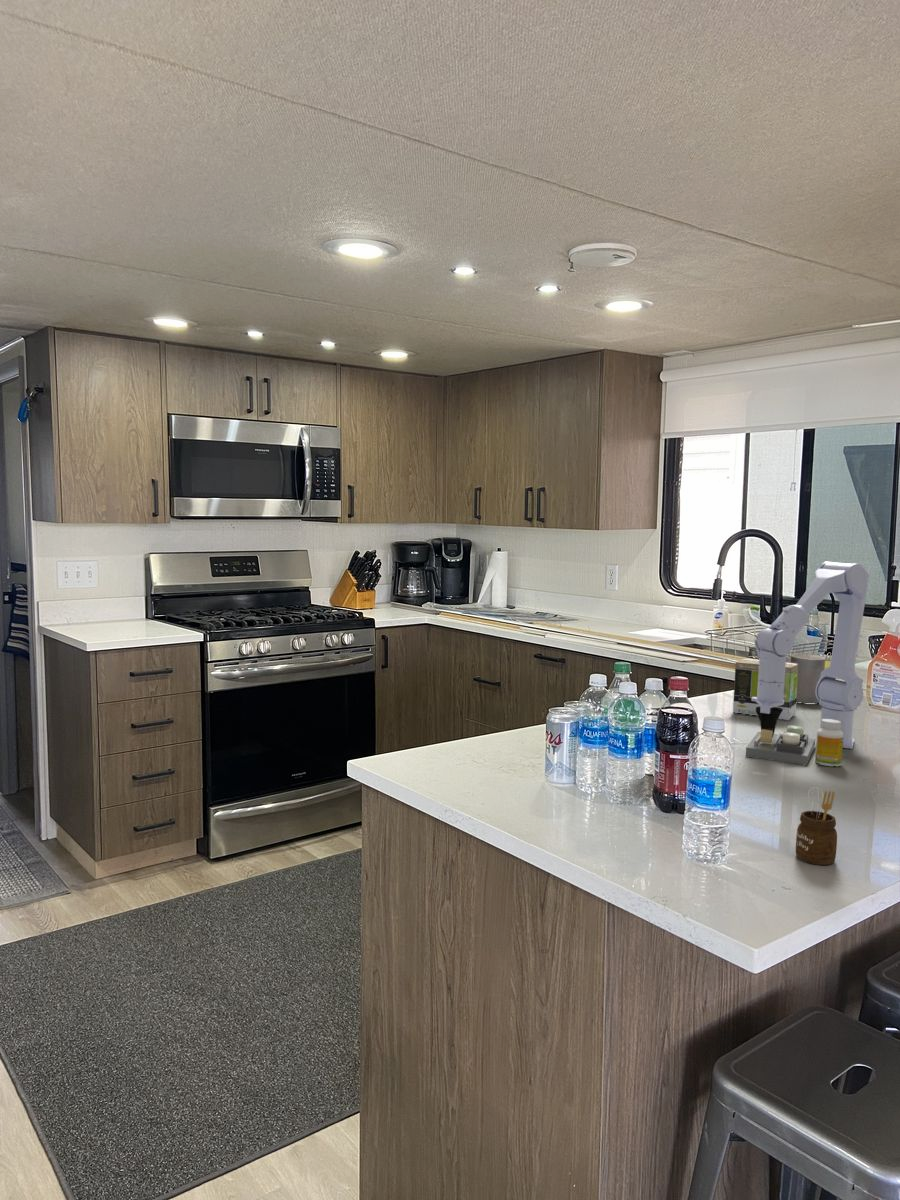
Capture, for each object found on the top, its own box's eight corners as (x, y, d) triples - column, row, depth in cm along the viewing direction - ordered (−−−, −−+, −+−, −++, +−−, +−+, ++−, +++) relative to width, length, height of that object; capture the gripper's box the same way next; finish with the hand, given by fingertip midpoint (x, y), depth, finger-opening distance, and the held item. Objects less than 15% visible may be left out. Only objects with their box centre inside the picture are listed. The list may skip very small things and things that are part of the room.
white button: (783, 741, 204) (784, 731, 204) (800, 743, 203) (800, 733, 202) (781, 744, 201) (781, 734, 201) (798, 746, 199) (799, 737, 199)
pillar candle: (784, 697, 274) (787, 648, 273) (817, 698, 273) (821, 650, 271) (791, 704, 265) (795, 654, 263) (826, 705, 263) (830, 655, 262)
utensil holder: (824, 852, 144) (830, 779, 143) (843, 867, 138) (849, 791, 137) (788, 851, 144) (794, 778, 143) (805, 866, 138) (811, 791, 137)
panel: (757, 739, 219) (758, 725, 218) (814, 747, 213) (815, 732, 212) (745, 756, 203) (746, 740, 202) (806, 765, 197) (808, 749, 196)
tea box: (796, 715, 248) (799, 662, 247) (788, 721, 240) (792, 667, 239) (741, 707, 256) (744, 656, 255) (731, 713, 248) (735, 660, 247)
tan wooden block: (761, 740, 207) (762, 727, 207) (772, 741, 206) (773, 729, 206) (760, 741, 206) (760, 729, 205) (771, 743, 204) (771, 730, 204)
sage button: (787, 734, 211) (788, 724, 211) (803, 736, 210) (804, 727, 209) (785, 737, 208) (786, 727, 208) (802, 739, 206) (802, 730, 206)
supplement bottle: (843, 768, 195) (846, 724, 194) (817, 765, 196) (820, 722, 196) (838, 761, 200) (841, 719, 200) (813, 759, 202) (816, 717, 201)
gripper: (757, 674, 214) (754, 729, 216) (748, 683, 202) (744, 742, 203) (789, 677, 211) (785, 733, 212) (781, 687, 198) (776, 747, 200)
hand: (767, 738), depth 207 cm, fingers closed
